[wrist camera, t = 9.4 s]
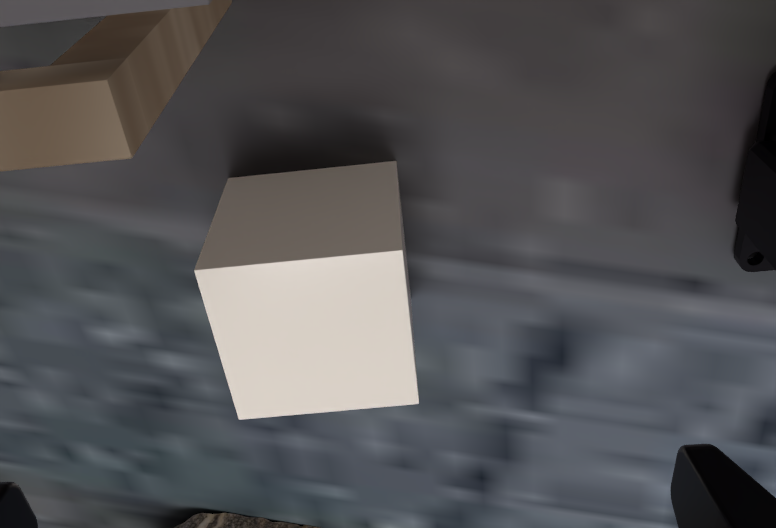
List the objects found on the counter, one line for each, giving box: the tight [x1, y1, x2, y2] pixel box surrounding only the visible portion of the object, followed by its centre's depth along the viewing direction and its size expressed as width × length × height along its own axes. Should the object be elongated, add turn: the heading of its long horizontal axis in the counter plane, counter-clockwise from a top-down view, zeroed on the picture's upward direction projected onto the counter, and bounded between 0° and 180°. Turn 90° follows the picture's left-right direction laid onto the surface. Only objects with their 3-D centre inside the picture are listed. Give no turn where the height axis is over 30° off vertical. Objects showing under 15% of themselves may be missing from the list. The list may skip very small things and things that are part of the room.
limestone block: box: [194, 161, 419, 420], centre depth 21 cm, size 5×5×5 cm
